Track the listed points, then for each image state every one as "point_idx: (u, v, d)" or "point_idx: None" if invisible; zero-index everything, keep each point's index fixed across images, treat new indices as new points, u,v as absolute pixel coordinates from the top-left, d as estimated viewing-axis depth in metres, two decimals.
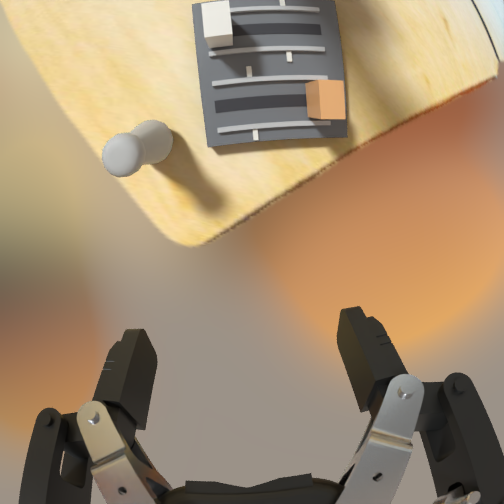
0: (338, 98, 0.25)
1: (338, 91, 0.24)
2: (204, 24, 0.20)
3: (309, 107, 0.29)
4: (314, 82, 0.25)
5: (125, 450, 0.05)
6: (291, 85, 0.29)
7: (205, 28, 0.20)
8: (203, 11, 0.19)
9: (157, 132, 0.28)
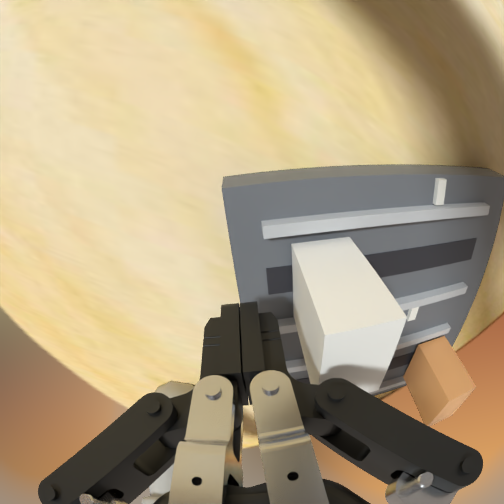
0: (457, 405, 0.14)
1: (462, 399, 0.13)
2: None
3: (412, 379, 0.18)
4: (439, 386, 0.14)
5: (228, 443, 0.06)
6: None
7: None
8: (327, 357, 0.08)
9: None
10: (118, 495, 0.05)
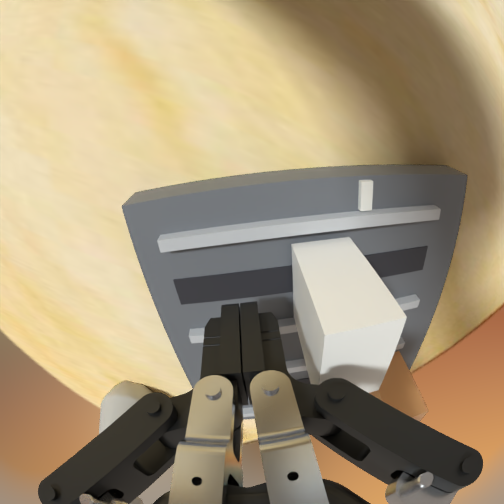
0: None
1: None
2: None
3: None
4: None
5: (228, 443, 0.06)
6: None
7: None
8: (326, 357, 0.08)
9: None
10: (118, 495, 0.05)
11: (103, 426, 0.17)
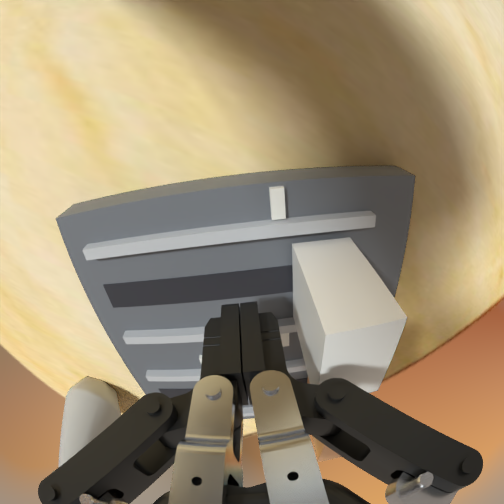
0: None
1: None
2: None
3: None
4: None
5: (228, 443, 0.06)
6: None
7: None
8: (327, 357, 0.08)
9: (95, 433, 0.16)
10: (118, 495, 0.05)
11: (65, 417, 0.17)
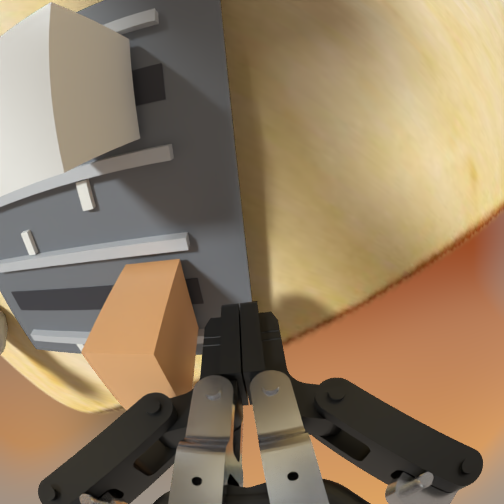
0: (154, 390, 0.09)
1: (148, 378, 0.08)
2: None
3: None
4: None
5: (228, 443, 0.06)
6: (109, 266, 0.13)
7: None
8: None
9: None
10: (118, 495, 0.05)
11: None
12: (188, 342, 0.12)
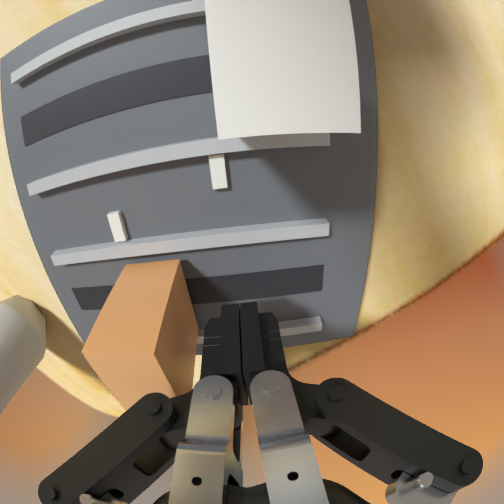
0: (154, 390, 0.09)
1: (148, 378, 0.08)
2: (217, 58, 0.04)
3: None
4: None
5: (228, 443, 0.06)
6: (228, 253, 0.13)
7: (223, 83, 0.04)
8: None
9: (4, 355, 0.11)
10: (118, 495, 0.05)
11: None
12: (188, 342, 0.12)
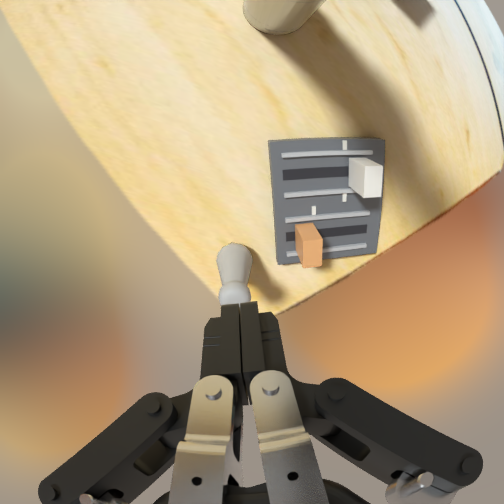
0: (317, 252, 0.38)
1: (318, 247, 0.38)
2: (365, 186, 0.34)
3: (296, 246, 0.43)
4: (300, 237, 0.39)
5: (228, 443, 0.06)
6: (342, 220, 0.43)
7: (365, 190, 0.34)
8: (365, 174, 0.33)
9: (246, 264, 0.41)
10: (118, 495, 0.05)
11: (224, 258, 0.41)
12: None
